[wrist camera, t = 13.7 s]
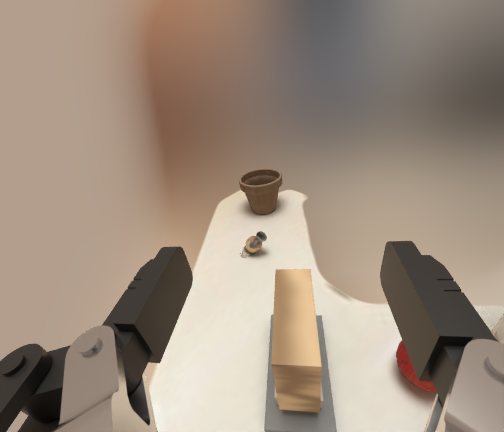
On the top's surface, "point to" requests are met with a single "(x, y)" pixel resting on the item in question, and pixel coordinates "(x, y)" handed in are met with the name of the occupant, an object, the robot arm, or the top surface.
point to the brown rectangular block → (296, 342)
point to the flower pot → (261, 189)
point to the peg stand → (301, 422)
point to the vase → (253, 244)
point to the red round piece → (410, 369)
